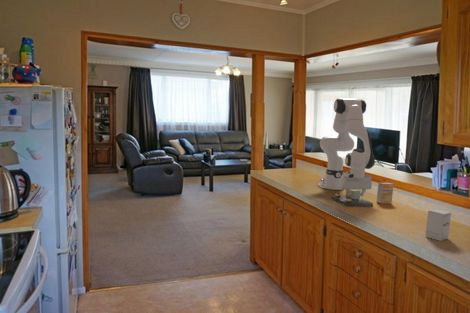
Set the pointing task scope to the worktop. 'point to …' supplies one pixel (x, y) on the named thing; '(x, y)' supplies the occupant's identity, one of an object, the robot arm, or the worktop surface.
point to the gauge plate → (353, 203)
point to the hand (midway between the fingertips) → (355, 196)
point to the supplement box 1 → (385, 193)
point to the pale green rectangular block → (355, 194)
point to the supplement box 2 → (438, 224)
